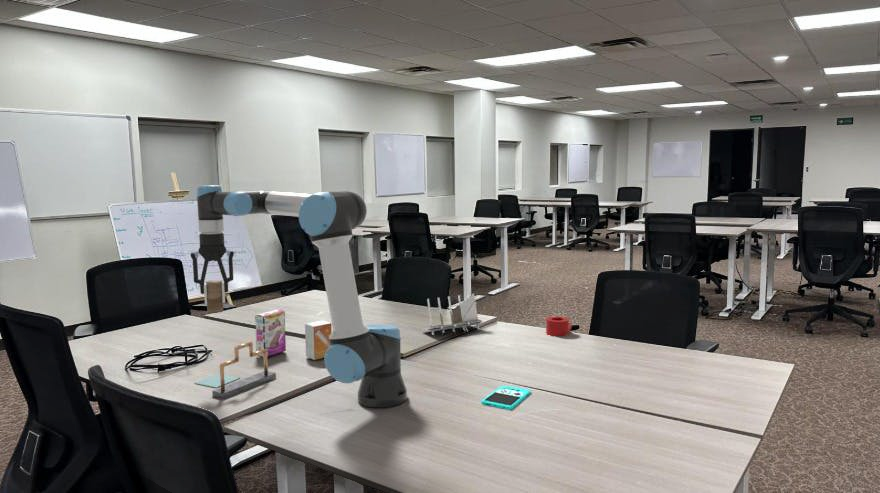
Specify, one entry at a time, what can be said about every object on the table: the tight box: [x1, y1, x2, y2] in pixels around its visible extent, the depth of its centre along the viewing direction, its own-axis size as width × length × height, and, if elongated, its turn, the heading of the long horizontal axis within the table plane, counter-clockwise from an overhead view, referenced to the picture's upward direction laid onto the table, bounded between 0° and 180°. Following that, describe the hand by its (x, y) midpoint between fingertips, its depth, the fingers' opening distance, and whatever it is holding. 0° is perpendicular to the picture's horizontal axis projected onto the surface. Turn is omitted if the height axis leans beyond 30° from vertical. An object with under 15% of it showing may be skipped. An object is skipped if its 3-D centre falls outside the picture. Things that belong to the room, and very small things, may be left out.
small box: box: [304, 319, 333, 361], centre depth 224 cm, size 8×6×13 cm
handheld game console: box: [480, 385, 531, 411], centre depth 181 cm, size 10×16×1 cm, turn 150°
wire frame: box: [211, 341, 277, 400], centre depth 192 cm, size 5×22×15 cm, turn 150°
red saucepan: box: [545, 316, 573, 337], centre depth 257 cm, size 18×9×7 cm, turn 146°
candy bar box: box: [254, 309, 287, 359], centre depth 228 cm, size 11×5×16 cm, turn 149°
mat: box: [194, 373, 240, 389], centre depth 198 cm, size 10×10×1 cm
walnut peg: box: [205, 279, 224, 314], centre depth 195 cm, size 5×5×10 cm
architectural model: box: [421, 293, 484, 336], centre depth 258 cm, size 17×25×18 cm
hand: (215, 302), depth 195 cm, fingers closed on walnut peg, 5 cm apart
